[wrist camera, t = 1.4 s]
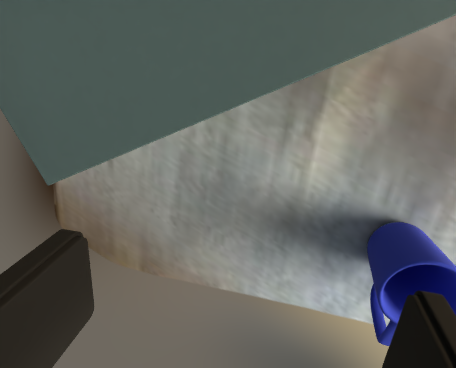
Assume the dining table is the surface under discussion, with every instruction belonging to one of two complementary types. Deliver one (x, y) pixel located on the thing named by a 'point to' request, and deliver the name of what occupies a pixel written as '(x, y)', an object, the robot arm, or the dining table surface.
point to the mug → (405, 273)
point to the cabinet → (169, 64)
